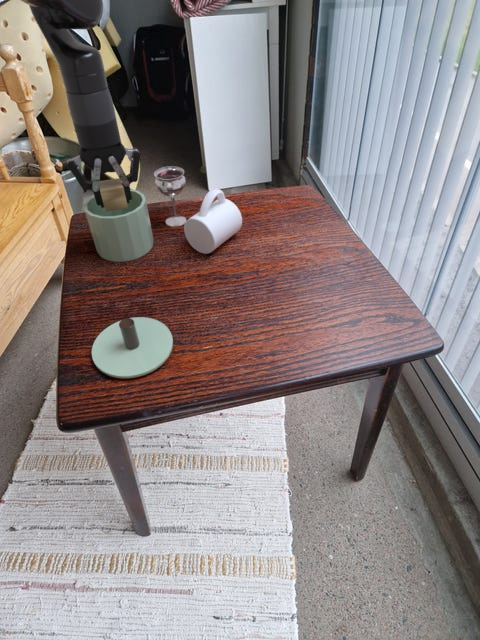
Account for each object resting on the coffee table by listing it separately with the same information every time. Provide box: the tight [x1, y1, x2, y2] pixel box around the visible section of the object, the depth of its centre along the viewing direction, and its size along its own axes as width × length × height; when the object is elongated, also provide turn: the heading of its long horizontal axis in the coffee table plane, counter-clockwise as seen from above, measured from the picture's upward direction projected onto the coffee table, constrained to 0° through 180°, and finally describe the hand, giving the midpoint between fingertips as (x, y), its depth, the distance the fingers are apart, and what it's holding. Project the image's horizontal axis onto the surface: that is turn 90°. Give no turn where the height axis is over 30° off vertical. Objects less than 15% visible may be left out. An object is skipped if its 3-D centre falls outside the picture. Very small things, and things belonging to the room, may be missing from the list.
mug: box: [183, 188, 243, 255], centre depth 90 cm, size 8×10×12 cm
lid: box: [91, 316, 174, 379], centre depth 69 cm, size 13×13×6 cm
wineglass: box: [153, 165, 187, 227], centre depth 97 cm, size 7×7×12 cm
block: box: [99, 177, 128, 212], centre depth 85 cm, size 4×4×4 cm
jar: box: [83, 188, 154, 263], centre depth 90 cm, size 12×12×10 cm
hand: (115, 203), depth 87 cm, fingers closed on block, 4 cm apart
